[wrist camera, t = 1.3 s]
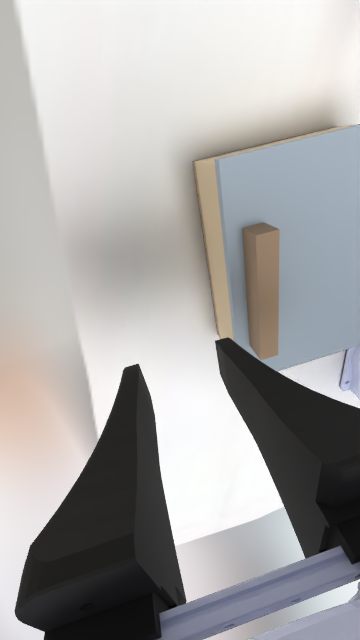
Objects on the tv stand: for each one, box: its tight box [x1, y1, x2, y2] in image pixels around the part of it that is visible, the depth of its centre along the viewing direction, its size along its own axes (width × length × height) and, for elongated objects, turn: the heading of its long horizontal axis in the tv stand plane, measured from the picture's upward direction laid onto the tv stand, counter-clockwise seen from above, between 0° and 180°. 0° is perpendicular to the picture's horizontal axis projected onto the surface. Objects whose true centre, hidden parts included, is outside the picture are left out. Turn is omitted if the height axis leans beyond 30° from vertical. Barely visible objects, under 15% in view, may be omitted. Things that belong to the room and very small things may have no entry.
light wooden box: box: [193, 125, 354, 341], centre depth 20 cm, size 14×10×5 cm
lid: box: [214, 124, 360, 371], centre depth 16 cm, size 15×11×2 cm
